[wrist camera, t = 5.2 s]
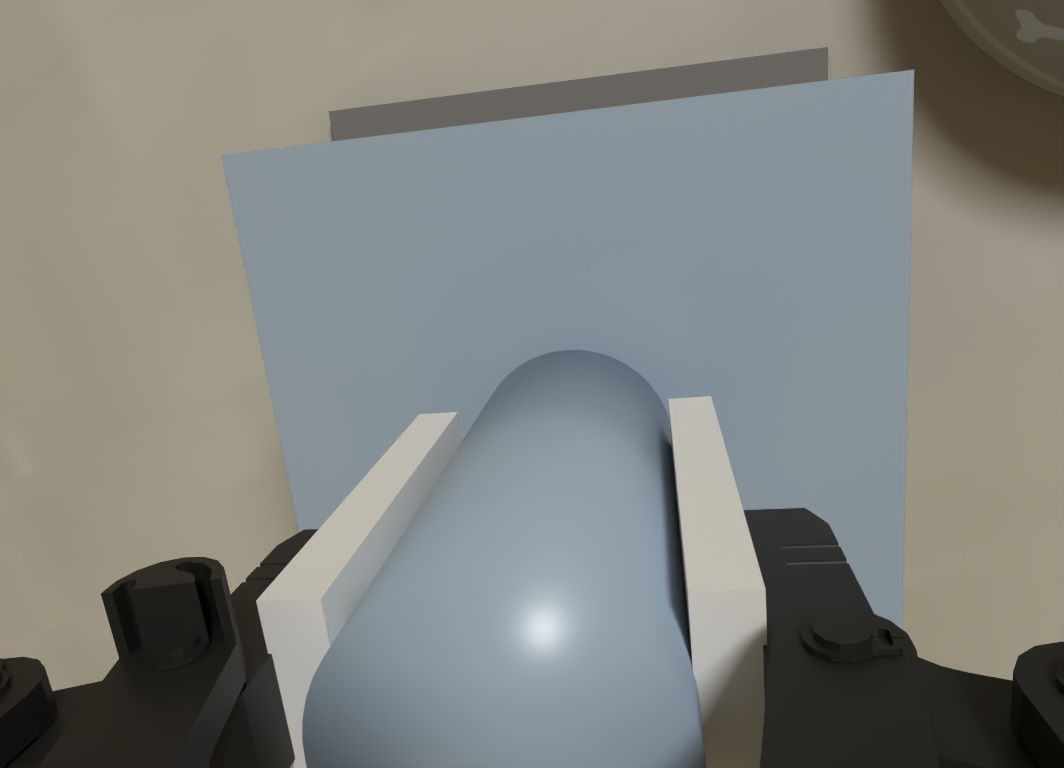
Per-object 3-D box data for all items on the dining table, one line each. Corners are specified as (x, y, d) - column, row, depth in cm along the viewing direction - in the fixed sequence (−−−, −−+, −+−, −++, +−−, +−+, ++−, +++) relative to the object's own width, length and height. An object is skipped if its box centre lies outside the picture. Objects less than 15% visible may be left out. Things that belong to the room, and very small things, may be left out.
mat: (823, 49, 24) (827, 47, 24) (826, 517, 28) (830, 525, 28) (335, 112, 26) (328, 111, 26) (406, 535, 31) (402, 542, 30)
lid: (896, 75, 14) (1396, -88, 5) (887, 679, 18) (1166, 1278, 8) (245, 155, 16) (-303, 150, 7) (349, 681, 20) (78, 1163, 10)
